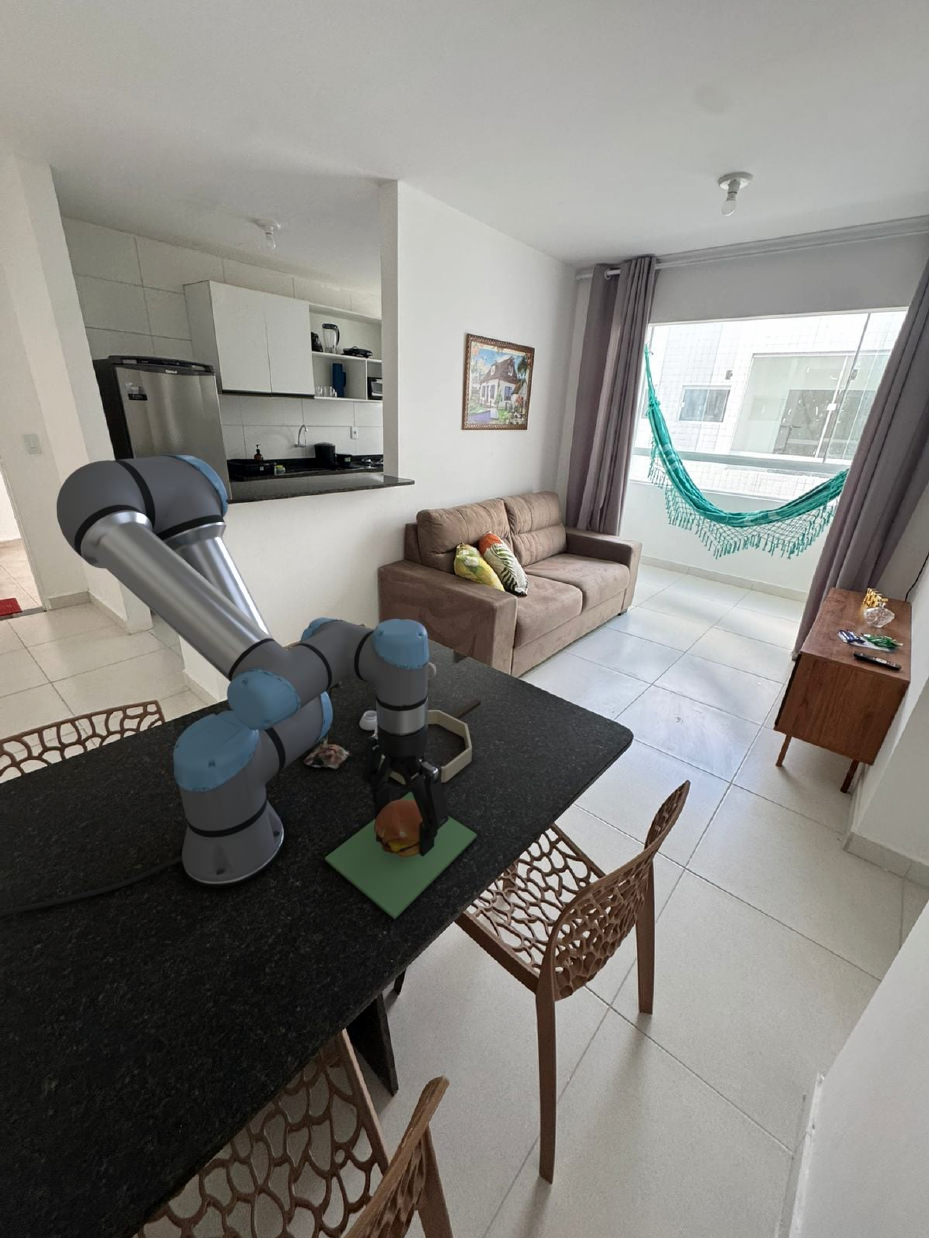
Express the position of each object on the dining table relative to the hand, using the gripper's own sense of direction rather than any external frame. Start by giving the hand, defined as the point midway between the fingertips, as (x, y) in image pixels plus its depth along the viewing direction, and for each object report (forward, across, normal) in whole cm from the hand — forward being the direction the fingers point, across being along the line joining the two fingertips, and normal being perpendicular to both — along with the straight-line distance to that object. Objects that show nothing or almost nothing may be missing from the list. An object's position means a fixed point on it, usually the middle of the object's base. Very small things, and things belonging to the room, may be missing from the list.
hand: (404, 834), depth 85 cm
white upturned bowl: (+3, +30, -20) cm, 36 cm away
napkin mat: (+3, 0, 0) cm, 3 cm away
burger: (0, 0, 0) cm, 0 cm away
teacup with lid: (+3, +35, -40) cm, 53 cm away
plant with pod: (+3, +29, -6) cm, 30 cm away
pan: (+3, +15, -26) cm, 30 cm away
